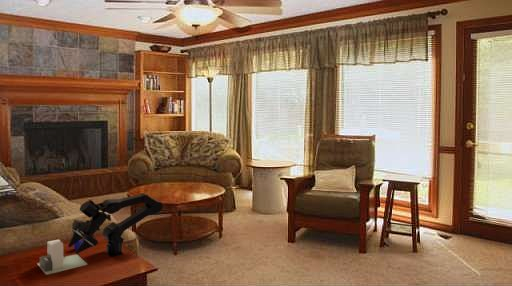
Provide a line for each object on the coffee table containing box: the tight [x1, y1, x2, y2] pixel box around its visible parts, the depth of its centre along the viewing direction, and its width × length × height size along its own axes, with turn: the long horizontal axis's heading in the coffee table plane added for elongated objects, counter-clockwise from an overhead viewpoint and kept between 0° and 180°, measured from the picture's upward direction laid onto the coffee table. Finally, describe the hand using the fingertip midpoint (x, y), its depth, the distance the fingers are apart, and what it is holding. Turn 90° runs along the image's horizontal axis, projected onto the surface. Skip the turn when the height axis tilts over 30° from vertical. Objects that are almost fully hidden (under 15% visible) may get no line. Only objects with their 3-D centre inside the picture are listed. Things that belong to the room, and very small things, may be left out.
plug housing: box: [46, 239, 64, 269], centre depth 195 cm, size 5×6×11 cm
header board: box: [36, 253, 88, 276], centre depth 198 cm, size 18×14×5 cm
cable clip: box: [73, 237, 85, 251], centre depth 219 cm, size 12×4×6 cm, turn 171°
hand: (72, 249), depth 200 cm, fingers open, 9 cm apart
